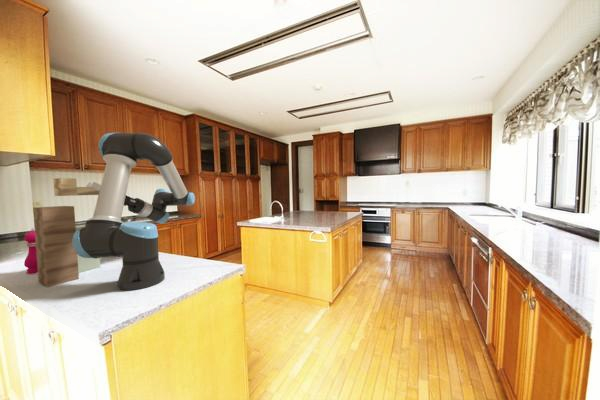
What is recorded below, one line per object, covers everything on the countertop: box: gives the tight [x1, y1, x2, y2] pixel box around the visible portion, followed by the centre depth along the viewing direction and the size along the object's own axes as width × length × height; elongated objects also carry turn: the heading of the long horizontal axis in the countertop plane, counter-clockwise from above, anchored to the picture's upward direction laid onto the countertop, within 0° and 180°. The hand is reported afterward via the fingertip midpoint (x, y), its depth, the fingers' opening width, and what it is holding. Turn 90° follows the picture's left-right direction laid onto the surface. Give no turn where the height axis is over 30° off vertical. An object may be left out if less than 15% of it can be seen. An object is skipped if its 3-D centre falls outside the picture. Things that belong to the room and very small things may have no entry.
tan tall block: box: [52, 177, 99, 197], centre depth 100 cm, size 7×18×7 cm, turn 154°
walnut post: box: [32, 205, 80, 288], centre depth 92 cm, size 9×9×30 cm
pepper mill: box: [23, 227, 38, 275], centre depth 104 cm, size 7×7×20 cm
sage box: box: [75, 224, 101, 274], centre depth 105 cm, size 7×12×20 cm, turn 153°
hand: (90, 184), depth 102 cm, fingers closed on tan tall block, 4 cm apart
